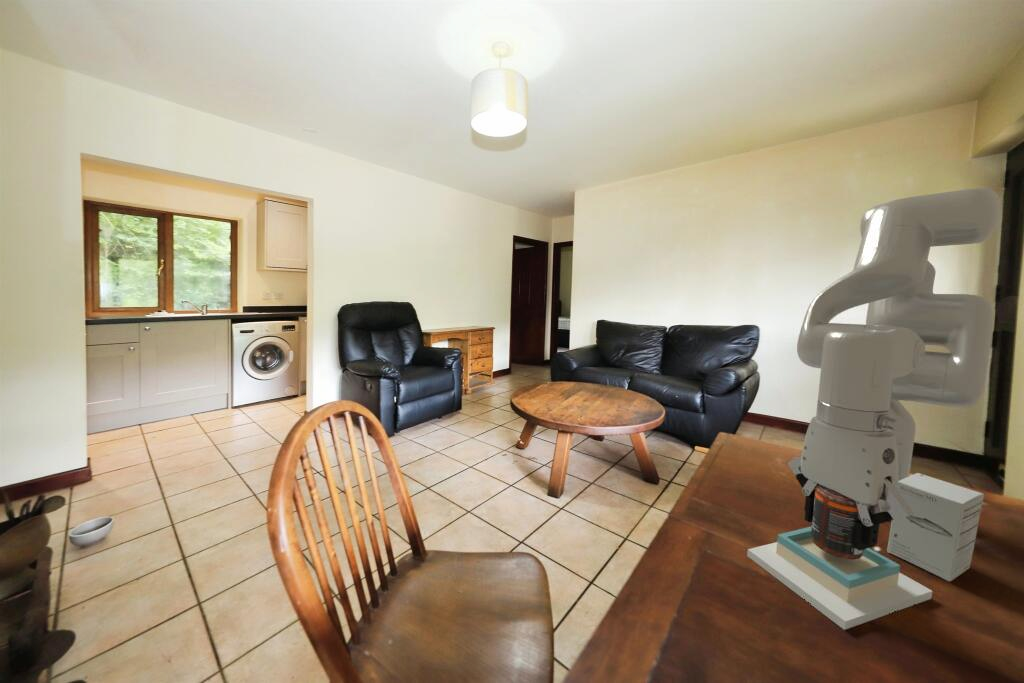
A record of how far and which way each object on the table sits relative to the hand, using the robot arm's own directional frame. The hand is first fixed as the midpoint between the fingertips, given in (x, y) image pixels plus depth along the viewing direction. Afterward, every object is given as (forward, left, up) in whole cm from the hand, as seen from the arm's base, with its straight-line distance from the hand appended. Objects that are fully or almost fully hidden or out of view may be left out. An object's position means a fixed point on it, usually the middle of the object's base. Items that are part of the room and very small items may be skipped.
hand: (837, 531), depth 56 cm
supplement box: (-18, +2, -7) cm, 19 cm away
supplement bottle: (0, 0, -3) cm, 3 cm away
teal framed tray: (0, 0, -7) cm, 7 cm away
